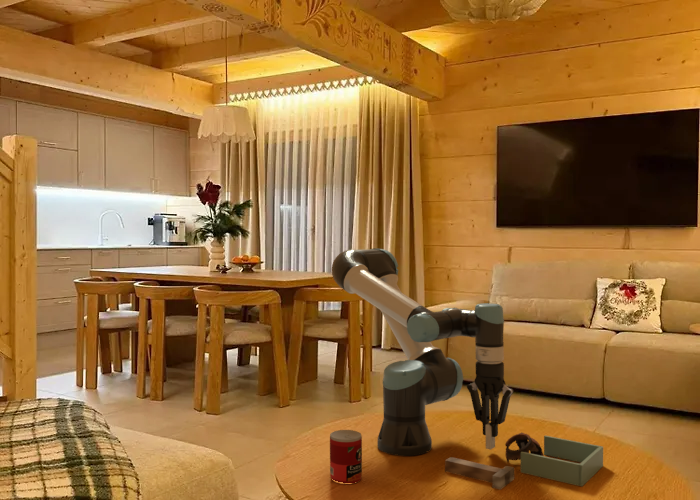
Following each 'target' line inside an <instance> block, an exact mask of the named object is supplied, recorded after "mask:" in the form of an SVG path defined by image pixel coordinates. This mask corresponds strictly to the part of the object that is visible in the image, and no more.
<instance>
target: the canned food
mask: <svg viewBox="0 0 700 500" xmlns="http://www.w3.org/2000/svg"><path fill="white" fill-rule="evenodd" d="M362 439H363V435H362V433H361V432H359V431H358V430H357V431H356V430H353V429H340V430H334V431H332V432H330V435H329V476H330V478H332V479H333V480H335V481H338V482H343V483H355V482H357V483H359V482H360V481H361V480H362V476H363V440H362ZM332 479H331V480H332ZM358 481H359V482H358ZM355 484H356V483H355Z"/></svg>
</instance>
